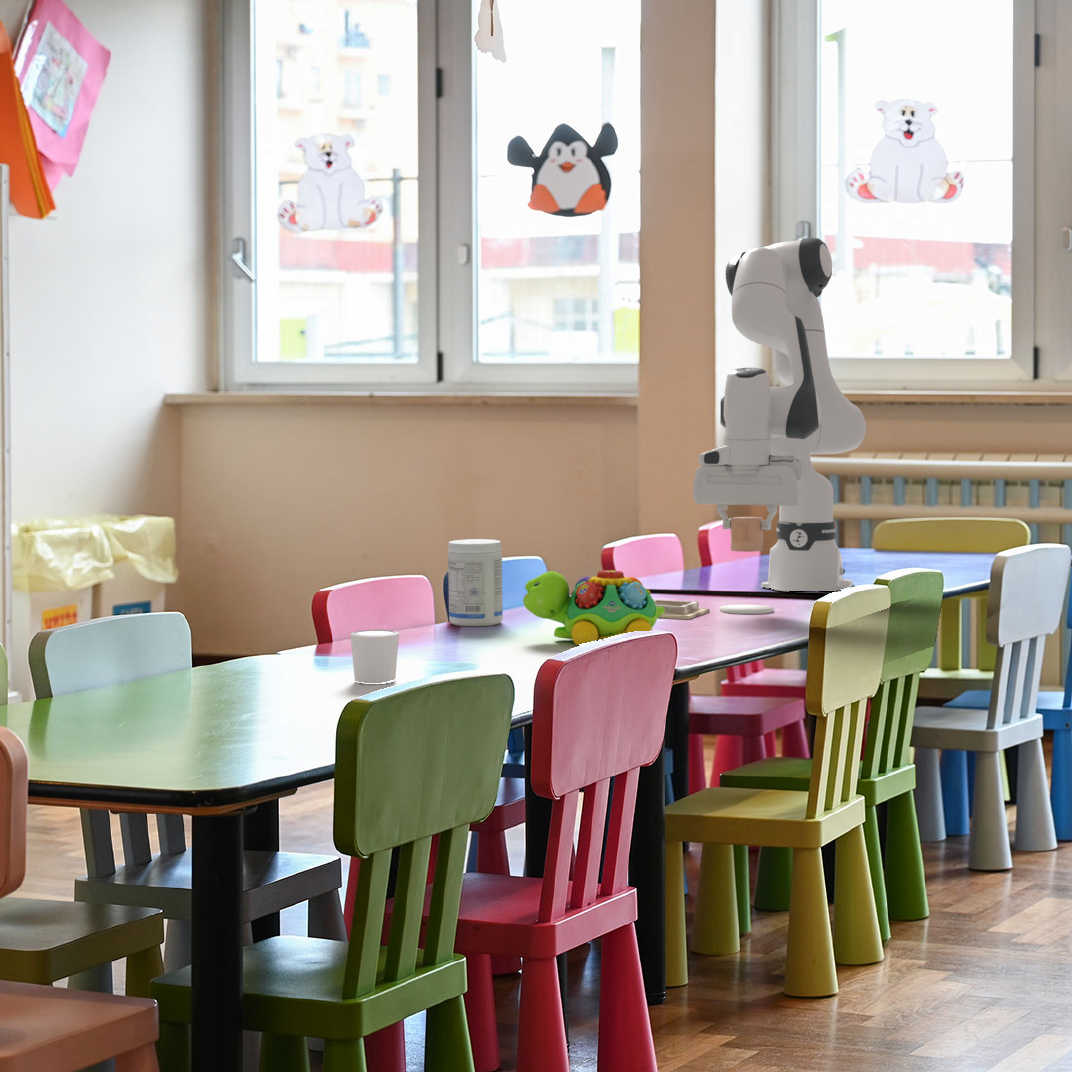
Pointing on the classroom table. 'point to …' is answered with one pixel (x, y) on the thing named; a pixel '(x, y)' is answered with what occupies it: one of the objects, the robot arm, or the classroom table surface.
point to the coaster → (746, 609)
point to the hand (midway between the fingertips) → (746, 529)
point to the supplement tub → (475, 582)
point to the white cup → (374, 655)
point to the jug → (746, 534)
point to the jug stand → (680, 609)
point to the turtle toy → (592, 605)
